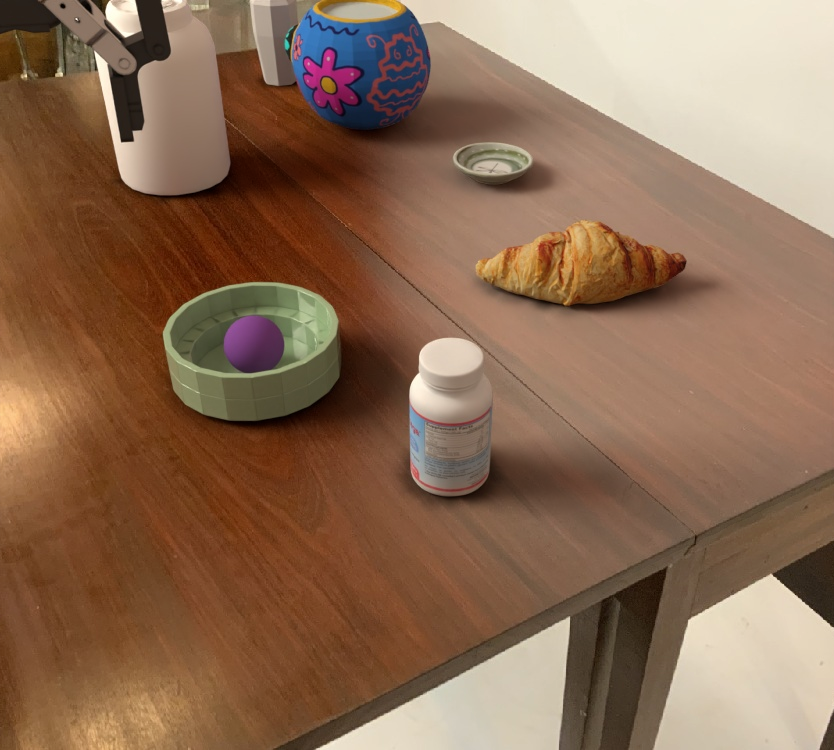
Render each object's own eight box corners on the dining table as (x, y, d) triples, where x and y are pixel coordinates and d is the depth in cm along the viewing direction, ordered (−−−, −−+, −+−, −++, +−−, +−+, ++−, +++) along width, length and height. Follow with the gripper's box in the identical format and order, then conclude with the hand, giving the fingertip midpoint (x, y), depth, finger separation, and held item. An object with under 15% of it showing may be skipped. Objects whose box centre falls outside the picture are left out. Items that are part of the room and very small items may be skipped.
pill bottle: (419, 443, 78) (417, 326, 71) (494, 452, 77) (500, 336, 71) (402, 495, 73) (399, 375, 66) (482, 505, 73) (487, 385, 66)
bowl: (181, 441, 77) (171, 391, 74) (166, 342, 87) (156, 295, 84) (357, 408, 81) (355, 359, 78) (322, 318, 92) (319, 272, 89)
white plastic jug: (228, 148, 121) (205, -19, 109) (234, 193, 111) (210, 15, 99) (122, 156, 118) (87, -15, 106) (119, 203, 108) (80, 20, 96)
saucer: (534, 162, 122) (536, 144, 120) (529, 196, 114) (530, 177, 112) (458, 156, 122) (458, 137, 121) (447, 190, 114) (447, 171, 113)
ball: (231, 390, 81) (224, 341, 78) (223, 357, 85) (216, 309, 82) (291, 380, 83) (286, 331, 80) (281, 348, 87) (276, 300, 84)
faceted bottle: (304, 72, 143) (292, -90, 130) (300, 88, 138) (286, -79, 125) (261, 71, 143) (243, -91, 130) (255, 87, 138) (236, -81, 125)
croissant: (477, 329, 97) (481, 289, 90) (470, 244, 101) (473, 199, 94) (684, 321, 99) (704, 280, 92) (669, 237, 103) (687, 193, 96)
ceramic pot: (372, 87, 139) (367, -22, 130) (457, 125, 130) (459, 10, 121) (270, 118, 129) (258, 2, 120) (355, 161, 120) (348, 38, 111)
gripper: (-247, -201, 37) (-116, 187, 47) (141, -192, 42) (189, 159, 52) (-211, -222, 43) (-101, 128, 53) (128, -212, 48) (173, 108, 57)
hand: (43, 143), depth 52 cm, fingers open, 8 cm apart
